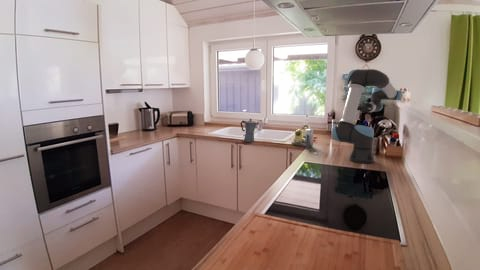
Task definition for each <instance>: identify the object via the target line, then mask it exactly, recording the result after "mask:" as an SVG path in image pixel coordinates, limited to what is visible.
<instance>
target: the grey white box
mask: <svg viewBox="0 0 480 270" xmlns="http://www.w3.org/2000/svg"><path fill="white" fill-rule="evenodd" d="M314 132H315V129H314V128H306V129H305V145H304V147H305V149H306V150H309V148H313V147H314V136H315V135H314Z"/></svg>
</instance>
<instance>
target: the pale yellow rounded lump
mask: <svg viewBox="0 0 480 270" xmlns="http://www.w3.org/2000/svg"><path fill="white" fill-rule="evenodd" d="M304 130H305V129H301V128H297V129H296V130H295V131H294V137H293V138H294V139H293V141H292V142H291V145H293V146H301V147H303V146H304V147H305V140H306V137H304Z"/></svg>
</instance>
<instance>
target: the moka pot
mask: <svg viewBox="0 0 480 270" xmlns="http://www.w3.org/2000/svg"><path fill="white" fill-rule="evenodd" d="M243 124H244V125H243ZM257 125H258V122H257V121H253V120H252V118H249V120H242V121H241V122H240V127H241V130H242V132H245V135H244V139H243V141H244V142H246V143H254V142H255V134H254V133H255V129H256V128H257ZM244 126H245V129H244Z"/></svg>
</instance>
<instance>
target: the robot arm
mask: <svg viewBox="0 0 480 270" xmlns="http://www.w3.org/2000/svg"><path fill="white" fill-rule="evenodd" d="M346 85H347V88H348V94H347V97H346V101H345V104H344V108H343V112H342V115H341V119H340V120H338V121H337V124H334V125H333V127H332V131H331V134H332V137H333V140H334V141H335V142H339V143H346V144H352V145H353V147H352V148H353V149H351V150H352V151H351V152H350V155H349V161H351V162H354V163H358V164H365V165H366V164H367V165H368V164H370V165H371V164H374V163H375V156H374V153H373V145H374V139H375V137H374V136H375V135H374V134H375V130H374V129H373V128H372V127H370V126H367V125H361V124H355V123H354V122H355V120H356V116H357V113H358V112H357V111H362V112H364V113H373V112H374V113H375V112H380V111H381V110H383V108H384V105H383V103H382V101H383V100H385V101H401V100H402V98H403V91H402V90H398V89H396V88H395V87H394V86H393V84H392V83H391V81H390V78H389V77H388V75H387V74H385V72H382V71H381V70H378V69H372V68H368V69H359V68H358V69H352V70H351V71H349V72H348V74H347V77H346ZM366 87H373V88H372V89H371V93H370V94H371V96H370V102H365V103H363V104H361V105H359V104H360V100H361V97H362V94H363V93H362V92H364V91H365V90H366Z"/></svg>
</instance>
